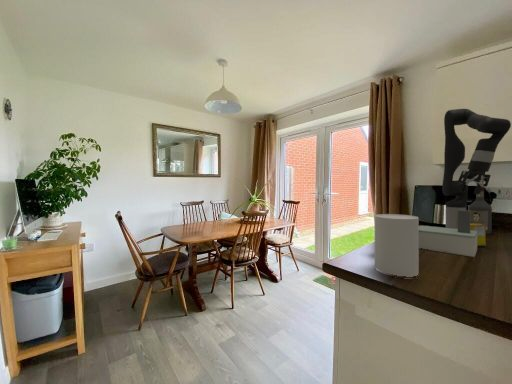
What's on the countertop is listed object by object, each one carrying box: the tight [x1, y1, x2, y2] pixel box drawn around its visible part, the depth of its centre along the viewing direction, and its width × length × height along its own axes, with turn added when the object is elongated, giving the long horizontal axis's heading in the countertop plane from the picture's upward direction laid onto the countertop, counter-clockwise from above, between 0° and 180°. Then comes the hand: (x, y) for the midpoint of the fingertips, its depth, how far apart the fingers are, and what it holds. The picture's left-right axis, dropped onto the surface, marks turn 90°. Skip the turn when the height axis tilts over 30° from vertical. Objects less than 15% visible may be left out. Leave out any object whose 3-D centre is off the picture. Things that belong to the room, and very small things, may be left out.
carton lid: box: [419, 209, 477, 238], centre depth 108 cm, size 22×16×11 cm
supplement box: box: [470, 223, 487, 248], centre depth 112 cm, size 6×6×11 cm
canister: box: [374, 213, 420, 277], centre depth 81 cm, size 14×14×20 cm
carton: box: [419, 232, 478, 258], centre depth 108 cm, size 22×16×8 cm
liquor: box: [468, 186, 493, 235], centre depth 140 cm, size 9×9×30 cm
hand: (468, 193), depth 111 cm, fingers open, 8 cm apart
